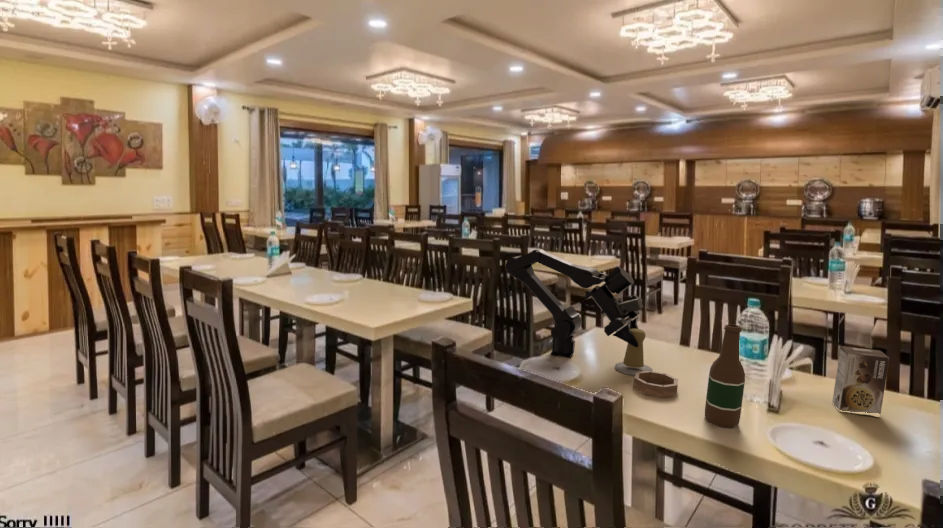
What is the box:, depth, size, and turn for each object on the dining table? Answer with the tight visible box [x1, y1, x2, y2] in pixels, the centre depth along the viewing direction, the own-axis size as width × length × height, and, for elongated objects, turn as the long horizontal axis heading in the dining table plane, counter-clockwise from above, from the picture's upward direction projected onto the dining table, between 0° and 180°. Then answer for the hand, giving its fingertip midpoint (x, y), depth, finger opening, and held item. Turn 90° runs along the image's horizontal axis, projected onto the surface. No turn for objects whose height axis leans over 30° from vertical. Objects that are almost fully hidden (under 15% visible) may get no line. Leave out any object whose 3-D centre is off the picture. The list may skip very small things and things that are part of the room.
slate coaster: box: [614, 361, 654, 377], centre depth 160 cm, size 11×11×1 cm
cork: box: [622, 328, 646, 368], centre depth 159 cm, size 6×6×11 cm
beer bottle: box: [704, 323, 746, 429], centre depth 125 cm, size 8×8×24 cm
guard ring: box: [632, 370, 679, 398], centre depth 146 cm, size 11×11×3 cm
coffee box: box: [831, 345, 890, 414], centre depth 136 cm, size 9×6×16 cm
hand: (640, 344), depth 158 cm, fingers closed on cork, 5 cm apart
